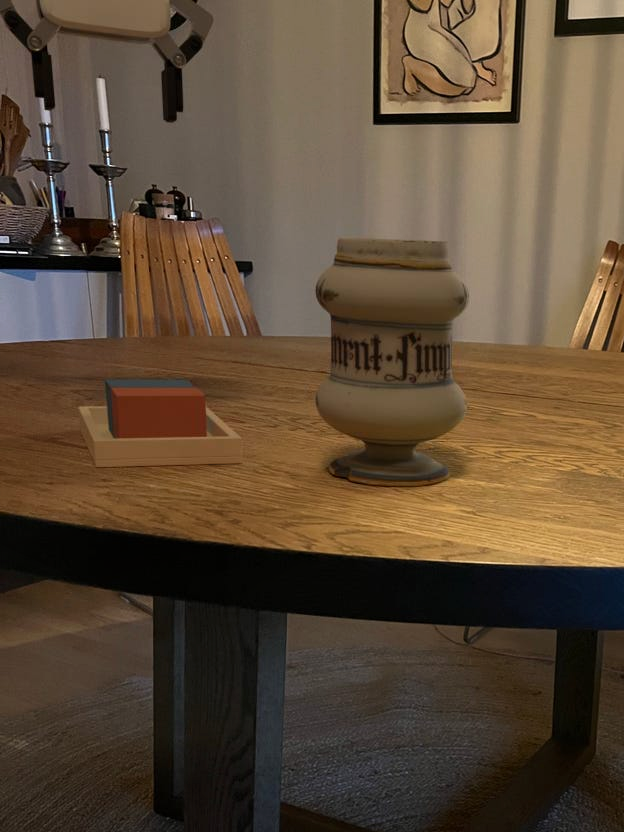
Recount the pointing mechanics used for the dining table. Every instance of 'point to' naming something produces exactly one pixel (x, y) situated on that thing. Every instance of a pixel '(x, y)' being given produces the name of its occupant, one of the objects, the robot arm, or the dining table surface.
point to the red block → (158, 412)
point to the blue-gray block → (138, 384)
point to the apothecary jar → (391, 356)
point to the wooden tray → (157, 444)
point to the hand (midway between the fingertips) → (111, 115)
